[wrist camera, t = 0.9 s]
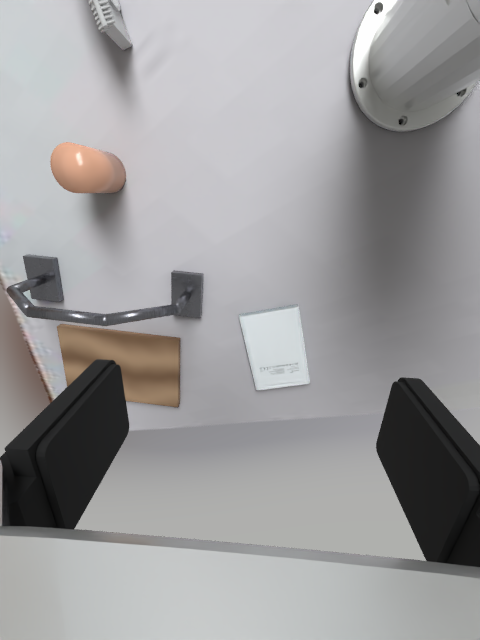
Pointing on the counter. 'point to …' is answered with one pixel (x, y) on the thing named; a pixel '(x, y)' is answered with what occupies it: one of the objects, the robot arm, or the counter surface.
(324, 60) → the counter surface
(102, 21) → the garden wall model
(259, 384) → the external hard drive
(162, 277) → the counter surface
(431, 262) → the counter surface
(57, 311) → the grey cabinet handle
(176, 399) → the walnut board
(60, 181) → the peach domed cylinder
